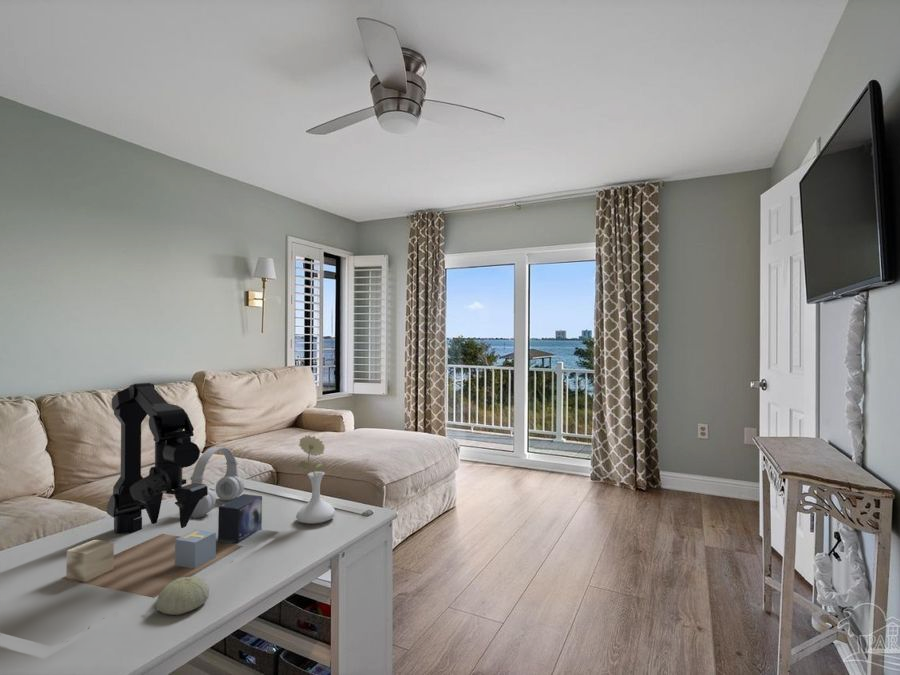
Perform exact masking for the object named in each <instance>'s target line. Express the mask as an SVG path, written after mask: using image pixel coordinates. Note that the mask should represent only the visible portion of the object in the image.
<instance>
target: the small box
mask: <svg viewBox="0 0 900 675" xmlns="http://www.w3.org/2000/svg"><path fill="white" fill-rule="evenodd" d="M262 513H263V496H261V495H254V494H247V493H244V494H241V495H240V496H238V497H237V498H234V499H232V500H228V501H227V502H224V503H222V504H221V505H219V506H218V521H217V522H218V523H217V524H218V525H217V527H218V529H217V542H220V543H226V544H239V543H241V542H243V541H245V540H246V539H247V538H249V537H251V536H252V535H254V534H256V533H257V532H259V531H262V529H263V528H262V524H263V522H262V521H263V520H262V518H263V514H262Z"/></svg>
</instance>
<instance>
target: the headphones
mask: <svg viewBox="0 0 900 675" xmlns="http://www.w3.org/2000/svg"><path fill="white" fill-rule="evenodd" d="M218 451H220V452H221V453H222V454H223V456H224V458H225V460H226V464H225V465H226V471H225V475H224V476H223V477H221V478H220V479H218V481H217V482H216V485H215V493H216V495H217V497H218V498H219V499H221V501H227V502H229V501H231V500H233V499H235V498H237V497H239V496H241V495H242V493H243V492H244V488H245V483H244V480H243V478H242V477H241V476H240V475H239V471H238V465H239V462H238V461H237V460H236V457H235V455H234V453H233V452H232V450H231V449H230V448H228V447H224V446H221V447H219V446H212V447H209V448H208V449H206V450H205V451H204V452H203V453H202V454H201V456H199V458H198V460H197V461H196V463H195V466H194V469H193V473H192V475H191V476H190V478H189V479H190V481H191V483H190V484H192V483H200V484H204V481H203V480H204V472H205V470H206V467H207V465H208V463H209V460H210V459H211V458H212V456H213V455H214V454H215V453H217V452H218ZM215 505H216V496H215V494H214V492H213V491H212V490H210V488H208V495H206V496H204V497H203V499H200V500H199V502H198V504H197V505H196V507H195V509H194V511H193V513H192V515H191V517H190V518H193V519H199V518H203V517H204V516H206V515H207V514H208V513H210V512H211V511H212V510H213V509H214V507H215Z"/></svg>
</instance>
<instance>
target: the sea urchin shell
mask: <svg viewBox="0 0 900 675" xmlns="http://www.w3.org/2000/svg"><path fill="white" fill-rule="evenodd" d="M209 594H210V587H209V586H208V583H207V582H206V581H205V580H203V579H202V578H201V577H197V576H191V577H183V578H179V579H176V580H174V581H172V582H171V583H169V584H168V585H167V586H166V587H165V588H164V589H163V590H162V591H161V592H160V594H159V595H158V596H157V599H156V603H155V604H156V609H157V610H158V611H159V612H160V613H163V614H167V615H171V616H173V615H175V616H176V615H177V616H178V615H183V614H186V613H190V612H192V611H193V610H195V609H199V607H201V606H203V605H204V604H205V603H206V602H207V600H208V599H209Z"/></svg>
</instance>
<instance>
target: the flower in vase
mask: <svg viewBox="0 0 900 675" xmlns="http://www.w3.org/2000/svg"><path fill="white" fill-rule="evenodd" d="M298 446H299V447H300V448H301V450H303V452H304V453H305V454H308V456H307V461H304V460H302V461H301V462H300V463H299V464H298V467H302V468H305V469H308V468H310V469H311V471H312V472H309V473H307V474H306V475H307V477H308V478H309V480H310V483H311V498H310V500H309V501H308V502H307V503H305V505H303V506H302V507H301V508H300V509H299V510H298V511H297V512H296V515H295V517H296V519H297V521H298V522H299V523H302V524H310V525H311V524H312V525H314V524H320V523H324V522H327V521H329V520H331V519H333V518H334V517H335V515H336V510H335V508H334V507H333V506H332V505H331V504H329V503H328V502H327V501H325V500H324V499H322V498H321V482H322V479H323V477H324V476H325V474H326V473H325V472H324V471H314V470H317V469H319V468H320V467H322V465H323V464H324V462H322V463H319V464H317V465H315V467H314V468H313V467H312V466H311V463H310V456H313V457H315V456H316V457H317V456H321V455H323V454H324V452H325V449H326V448H325V444H323V440H321V439H320V438H316V436H311V435H305V436H304V437H301V438H300V439H299V443H298Z"/></svg>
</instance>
